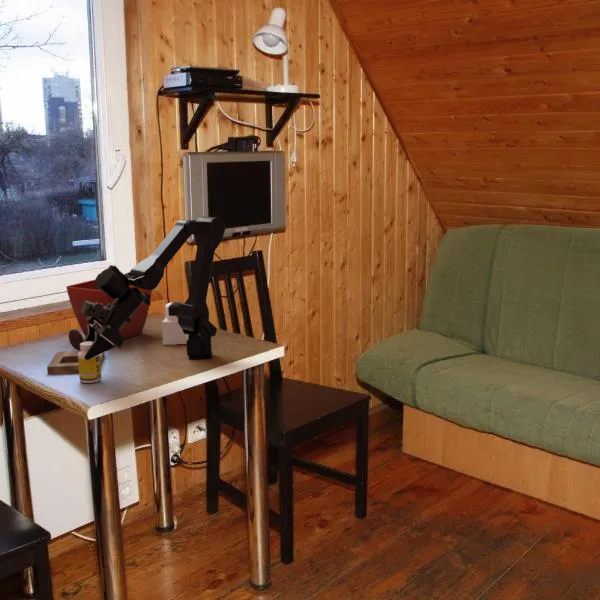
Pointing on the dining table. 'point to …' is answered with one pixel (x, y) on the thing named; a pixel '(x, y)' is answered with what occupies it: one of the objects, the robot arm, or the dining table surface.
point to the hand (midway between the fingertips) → (83, 356)
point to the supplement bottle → (88, 365)
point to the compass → (75, 339)
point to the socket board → (66, 362)
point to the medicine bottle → (172, 326)
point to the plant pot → (94, 294)
